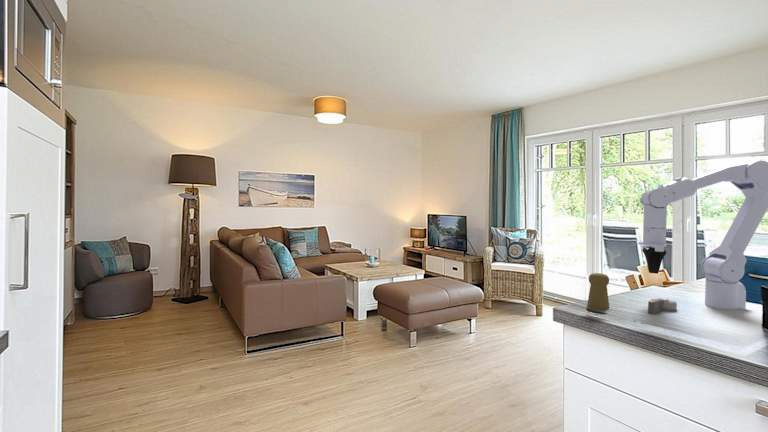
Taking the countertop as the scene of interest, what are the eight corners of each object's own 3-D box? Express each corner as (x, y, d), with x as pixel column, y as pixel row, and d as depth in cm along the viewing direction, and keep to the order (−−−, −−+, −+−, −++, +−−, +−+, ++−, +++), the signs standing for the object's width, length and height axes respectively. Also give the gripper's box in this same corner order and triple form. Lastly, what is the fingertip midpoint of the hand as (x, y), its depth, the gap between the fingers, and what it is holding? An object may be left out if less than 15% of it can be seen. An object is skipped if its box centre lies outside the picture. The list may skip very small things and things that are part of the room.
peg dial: (655, 304, 116) (655, 293, 116) (679, 308, 112) (680, 296, 111) (638, 310, 109) (639, 298, 109) (664, 315, 104) (664, 303, 104)
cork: (613, 314, 110) (614, 275, 110) (590, 313, 111) (591, 275, 111) (605, 309, 116) (606, 272, 116) (583, 307, 117) (584, 271, 117)
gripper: (634, 226, 126) (633, 268, 127) (643, 229, 113) (642, 275, 114) (661, 227, 123) (660, 270, 124) (673, 229, 110) (671, 277, 111)
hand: (653, 272), depth 118 cm, fingers closed
